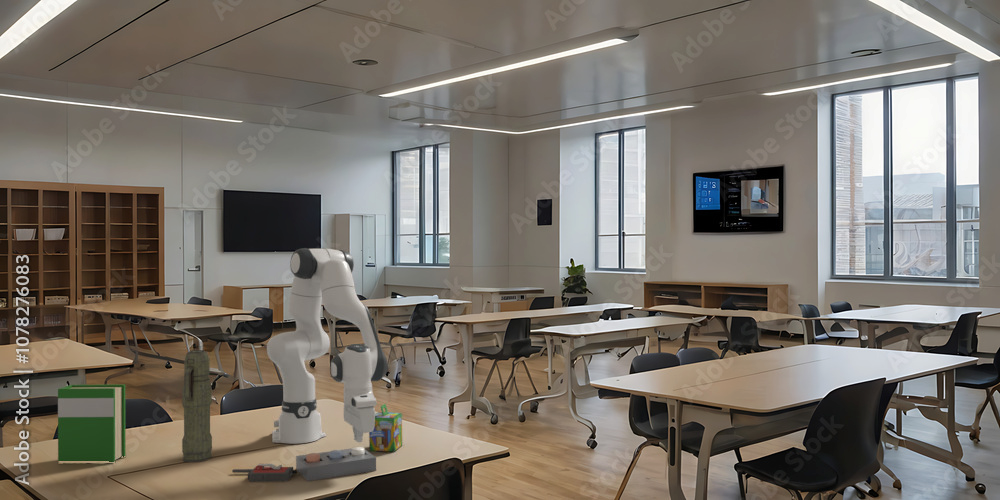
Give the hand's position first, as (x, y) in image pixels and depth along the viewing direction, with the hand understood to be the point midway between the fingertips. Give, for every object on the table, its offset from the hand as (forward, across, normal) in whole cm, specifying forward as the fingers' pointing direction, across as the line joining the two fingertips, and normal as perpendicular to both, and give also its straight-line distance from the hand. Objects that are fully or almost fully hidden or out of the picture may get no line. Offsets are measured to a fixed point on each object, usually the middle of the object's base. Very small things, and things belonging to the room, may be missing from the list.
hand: (358, 441), depth 227 cm
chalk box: (+8, -16, +15) cm, 23 cm away
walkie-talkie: (+8, -4, -28) cm, 30 cm away
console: (+8, 0, -7) cm, 11 cm away
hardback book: (+8, -49, -73) cm, 88 cm away
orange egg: (+5, 0, -14) cm, 15 cm away
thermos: (+8, -35, -43) cm, 56 cm away
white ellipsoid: (+5, 0, 0) cm, 5 cm away
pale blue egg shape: (+5, 0, -7) cm, 9 cm away
